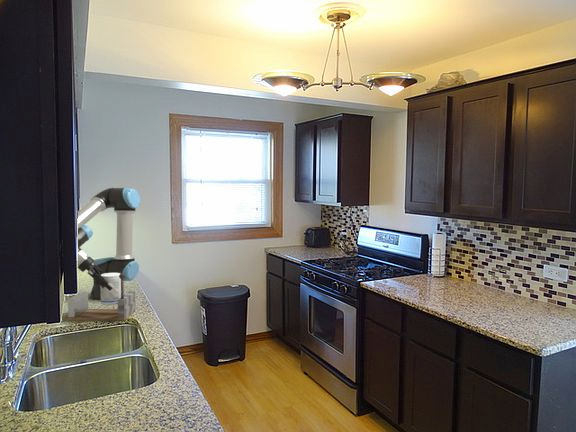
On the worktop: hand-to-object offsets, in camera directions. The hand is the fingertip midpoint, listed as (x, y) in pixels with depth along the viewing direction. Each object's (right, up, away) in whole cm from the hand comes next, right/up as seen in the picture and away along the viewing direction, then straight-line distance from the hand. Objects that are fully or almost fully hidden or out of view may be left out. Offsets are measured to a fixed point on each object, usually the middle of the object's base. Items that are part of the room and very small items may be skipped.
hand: (117, 291), depth 208 cm
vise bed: (-8, -12, 0) cm, 15 cm away
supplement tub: (-3, -6, -1) cm, 7 cm away
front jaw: (-19, -11, -1) cm, 22 cm away
